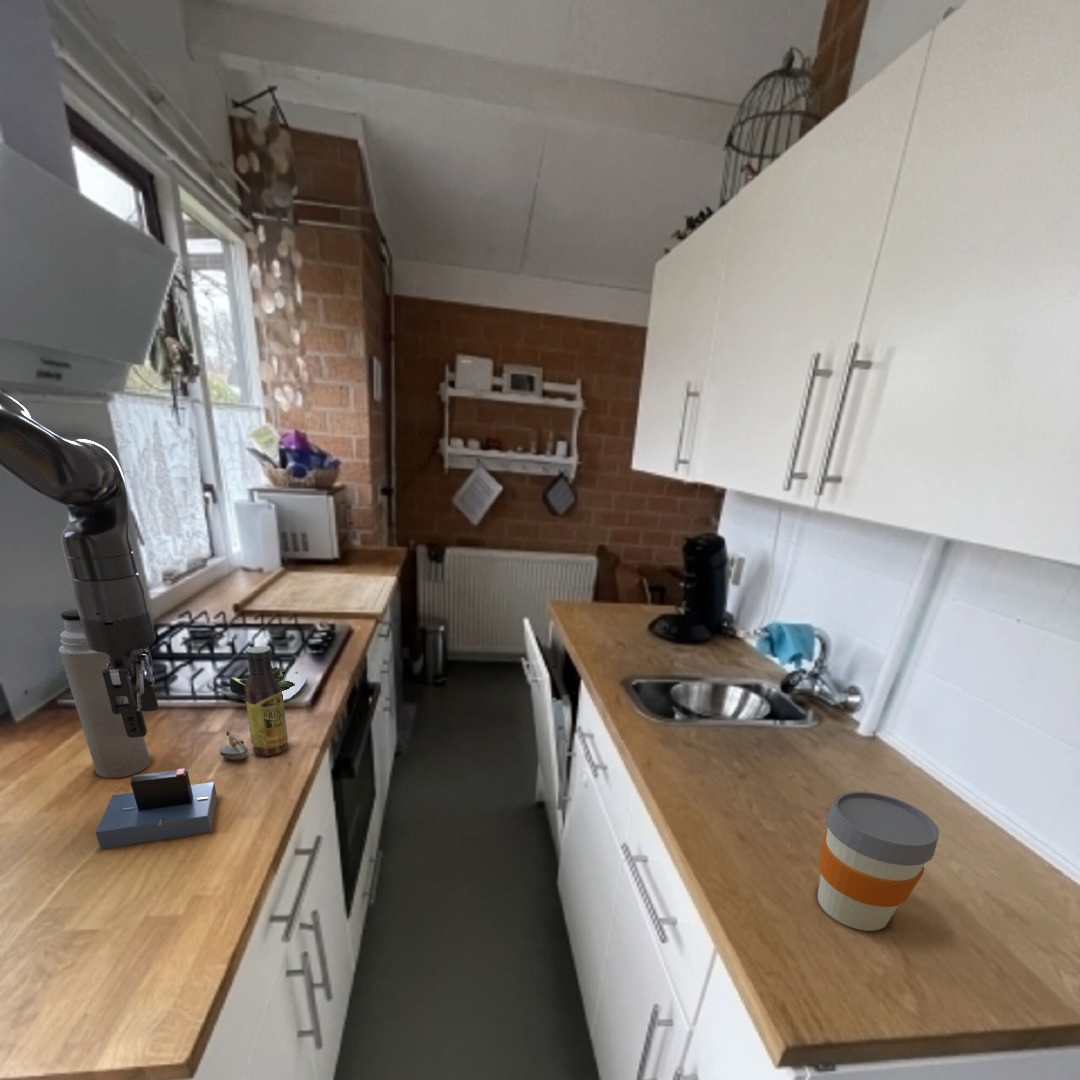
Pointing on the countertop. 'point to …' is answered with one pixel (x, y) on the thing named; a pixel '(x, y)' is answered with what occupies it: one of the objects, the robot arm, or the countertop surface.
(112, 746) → the thermos bottle
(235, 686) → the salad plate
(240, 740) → the figurine
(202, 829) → the rotary switch base
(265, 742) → the sauce bottle
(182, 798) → the black and red block
